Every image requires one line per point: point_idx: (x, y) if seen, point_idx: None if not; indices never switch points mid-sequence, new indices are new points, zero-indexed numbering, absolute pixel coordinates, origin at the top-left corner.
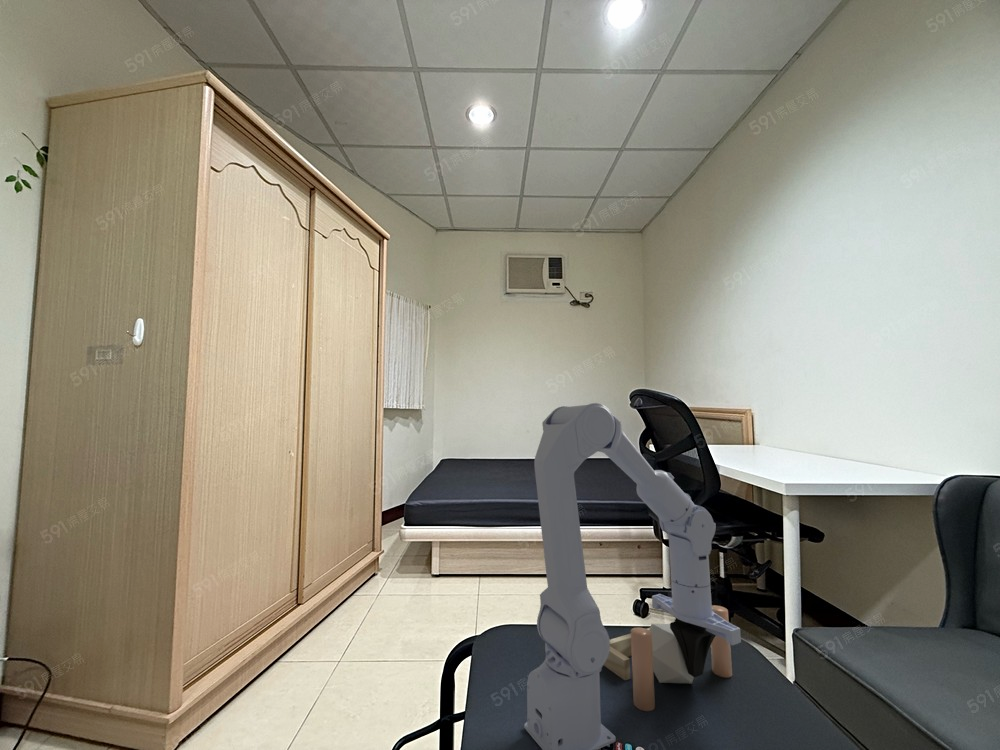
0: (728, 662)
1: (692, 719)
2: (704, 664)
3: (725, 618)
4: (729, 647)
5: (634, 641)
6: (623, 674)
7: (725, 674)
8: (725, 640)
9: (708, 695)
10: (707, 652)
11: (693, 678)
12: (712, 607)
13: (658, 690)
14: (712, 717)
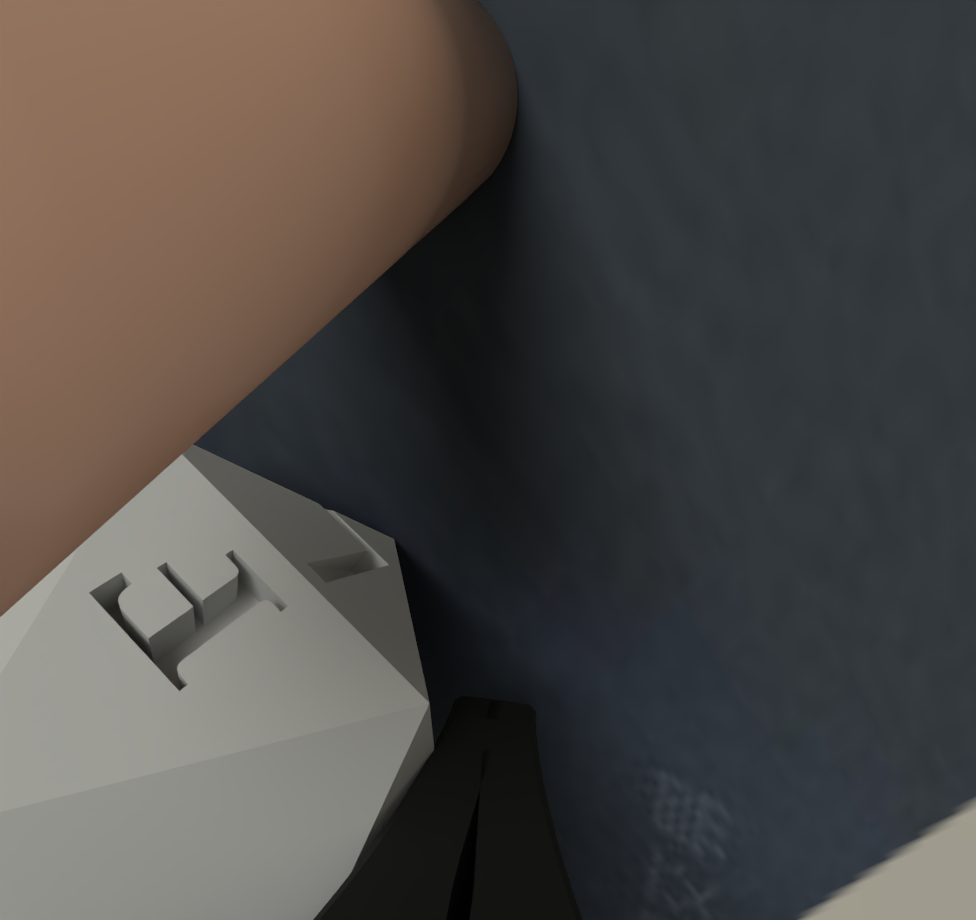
0: (495, 134)
1: (647, 840)
2: (542, 778)
3: (252, 263)
4: (471, 86)
5: None
6: None
7: (489, 174)
8: (430, 201)
9: (567, 571)
10: (575, 905)
11: (397, 559)
12: None
13: None
14: (721, 754)
